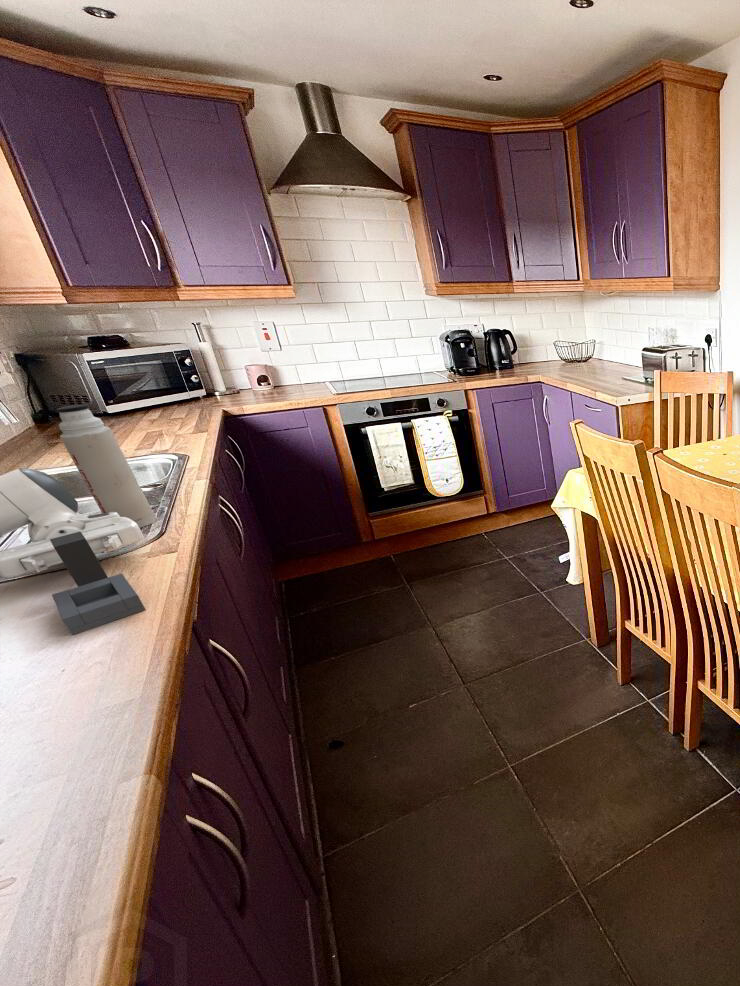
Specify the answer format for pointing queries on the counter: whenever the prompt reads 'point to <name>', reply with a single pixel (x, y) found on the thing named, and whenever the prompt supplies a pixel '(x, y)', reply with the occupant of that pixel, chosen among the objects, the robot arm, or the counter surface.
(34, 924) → the counter surface
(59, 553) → the dark grey rectangular block
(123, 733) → the counter surface
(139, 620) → the counter surface
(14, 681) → the counter surface
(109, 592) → the slotted base pad
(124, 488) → the thermos bottle
